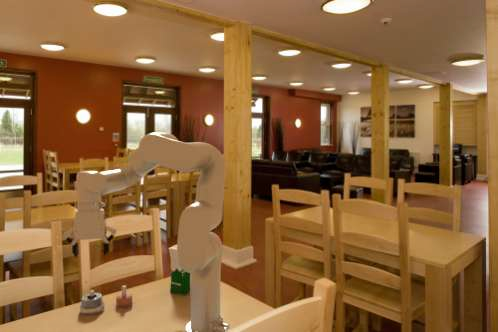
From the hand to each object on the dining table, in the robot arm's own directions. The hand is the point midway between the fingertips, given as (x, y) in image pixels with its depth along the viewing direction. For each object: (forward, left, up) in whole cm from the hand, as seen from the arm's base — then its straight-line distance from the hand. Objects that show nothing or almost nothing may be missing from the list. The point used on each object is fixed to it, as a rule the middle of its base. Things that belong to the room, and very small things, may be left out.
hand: (91, 254), depth 130 cm
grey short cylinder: (0, 0, -18) cm, 18 cm away
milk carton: (-15, -30, -20) cm, 39 cm away
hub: (0, 0, -20) cm, 20 cm away
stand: (-6, -9, -20) cm, 23 cm away
